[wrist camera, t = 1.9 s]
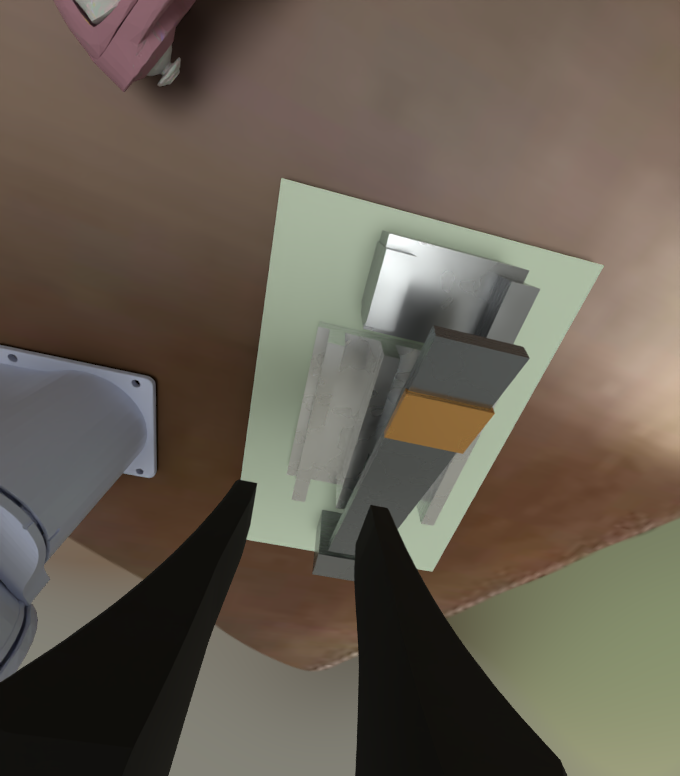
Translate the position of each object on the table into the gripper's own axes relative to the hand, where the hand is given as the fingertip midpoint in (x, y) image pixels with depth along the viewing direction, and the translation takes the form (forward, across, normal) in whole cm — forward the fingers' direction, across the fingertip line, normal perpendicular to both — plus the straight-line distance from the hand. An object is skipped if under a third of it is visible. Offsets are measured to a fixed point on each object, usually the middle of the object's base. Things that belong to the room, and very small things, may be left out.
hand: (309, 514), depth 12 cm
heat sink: (+9, -4, +1) cm, 10 cm away
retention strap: (+4, -4, +1) cm, 6 cm away
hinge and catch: (+9, -4, +1) cm, 10 cm away
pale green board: (+10, -4, +2) cm, 11 cm away
